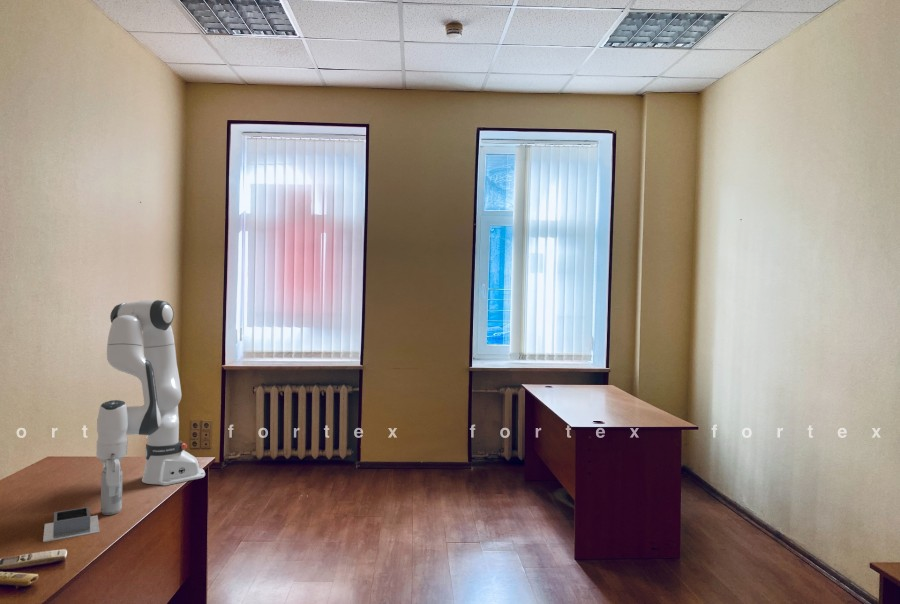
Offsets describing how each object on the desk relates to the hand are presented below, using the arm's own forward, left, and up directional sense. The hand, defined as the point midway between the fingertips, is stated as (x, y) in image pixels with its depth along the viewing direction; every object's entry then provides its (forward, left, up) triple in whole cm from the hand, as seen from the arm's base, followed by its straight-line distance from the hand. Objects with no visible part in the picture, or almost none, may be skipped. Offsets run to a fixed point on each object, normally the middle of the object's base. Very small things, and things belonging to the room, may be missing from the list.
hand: (111, 492), depth 189 cm
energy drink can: (0, 0, -7) cm, 7 cm away
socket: (+11, +9, -7) cm, 16 cm away
